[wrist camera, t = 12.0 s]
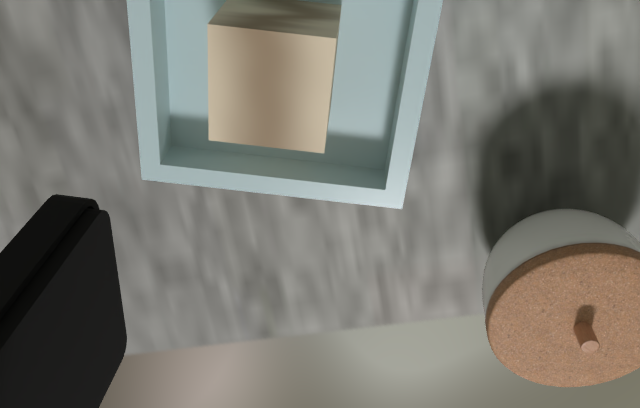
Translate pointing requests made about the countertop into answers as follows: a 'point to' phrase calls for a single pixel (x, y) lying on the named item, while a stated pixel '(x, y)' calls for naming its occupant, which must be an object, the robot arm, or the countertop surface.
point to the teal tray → (345, 113)
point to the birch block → (272, 73)
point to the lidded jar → (564, 299)
